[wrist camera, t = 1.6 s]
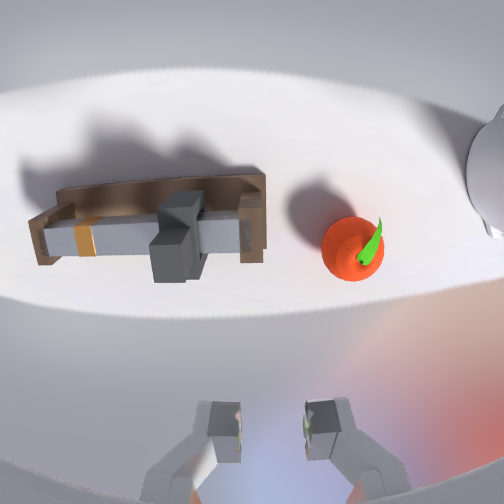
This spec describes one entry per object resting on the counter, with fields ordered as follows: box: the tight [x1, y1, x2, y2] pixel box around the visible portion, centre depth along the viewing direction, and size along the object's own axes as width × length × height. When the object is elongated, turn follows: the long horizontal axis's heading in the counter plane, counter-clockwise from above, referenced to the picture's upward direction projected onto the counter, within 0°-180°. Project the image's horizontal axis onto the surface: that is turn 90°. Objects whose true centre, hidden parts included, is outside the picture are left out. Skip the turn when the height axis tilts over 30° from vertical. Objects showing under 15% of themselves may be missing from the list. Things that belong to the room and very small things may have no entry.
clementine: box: [321, 217, 384, 282], centre depth 33 cm, size 8×7×7 cm
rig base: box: [28, 174, 267, 265], centre depth 32 cm, size 25×8×8 cm, turn 91°
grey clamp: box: [149, 190, 208, 283], centre depth 28 cm, size 3×6×10 cm, turn 2°
